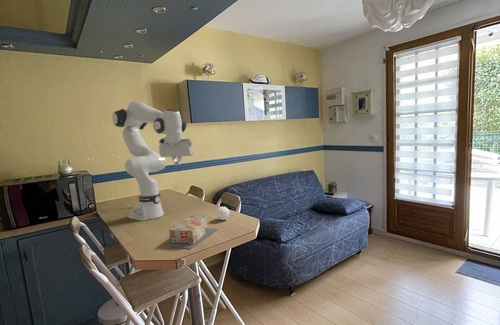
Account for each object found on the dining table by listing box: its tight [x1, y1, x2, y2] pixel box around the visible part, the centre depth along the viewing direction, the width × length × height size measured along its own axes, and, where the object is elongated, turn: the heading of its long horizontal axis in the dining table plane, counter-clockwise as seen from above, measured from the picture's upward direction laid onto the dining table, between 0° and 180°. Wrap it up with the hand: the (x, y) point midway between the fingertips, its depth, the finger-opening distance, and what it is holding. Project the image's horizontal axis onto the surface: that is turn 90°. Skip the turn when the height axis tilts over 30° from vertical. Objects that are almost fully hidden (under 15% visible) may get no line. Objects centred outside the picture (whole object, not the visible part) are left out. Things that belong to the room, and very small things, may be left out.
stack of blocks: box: [168, 215, 208, 244], centre depth 133 cm, size 21×6×12 cm
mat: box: [167, 227, 218, 250], centre depth 130 cm, size 12×24×1 cm, turn 157°
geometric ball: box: [215, 206, 230, 221], centre depth 154 cm, size 8×8×8 cm
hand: (177, 164), depth 146 cm, fingers closed
